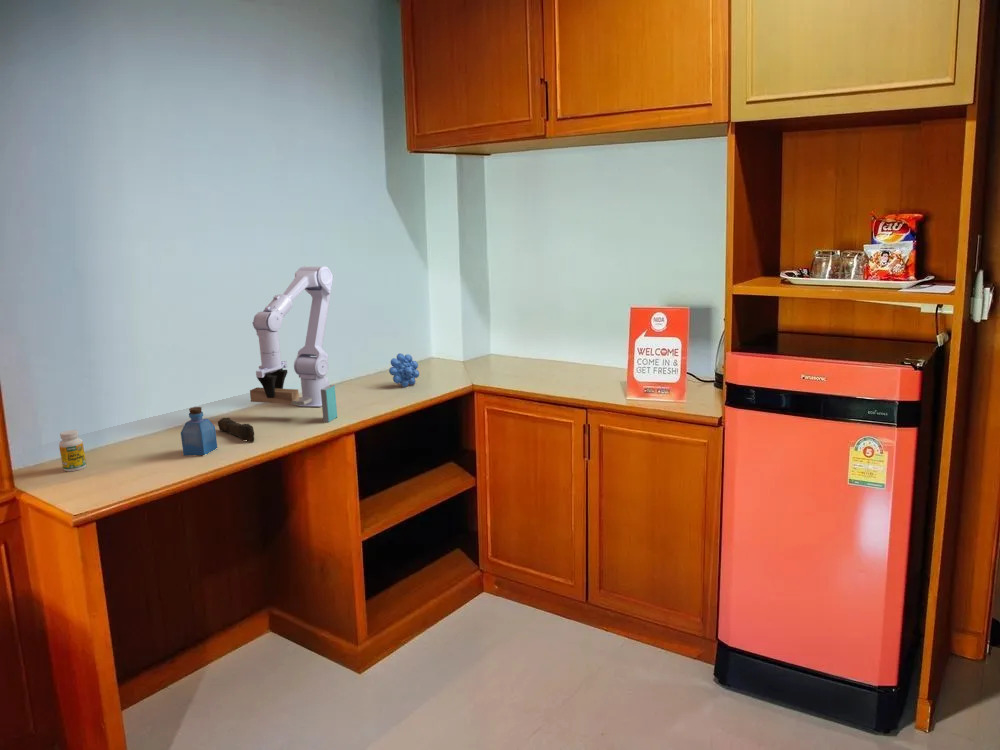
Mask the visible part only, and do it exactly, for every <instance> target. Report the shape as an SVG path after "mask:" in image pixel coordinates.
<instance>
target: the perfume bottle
mask: <svg viewBox="0 0 1000 750" xmlns="http://www.w3.org/2000/svg"><path fill="white" fill-rule="evenodd" d="M202 408H203V407H202V406H193V407H190V408H189V409H188V410H189V413H188V417H189V418H190V420H188V421H186V422H185V423H184V425H183V427H182V429H181V432H180V439H181V446H182V453H183V456H189V455H205V454H207V455H209V454H210V453H209V452H211V451H213V450H215V449H216V448H218V441H217V433H216V426H215V425H214V424H213V423H212V422H211V420H209V418H203V416H204V413H203V411H202ZM216 450H217V449H216ZM216 450H215V451H216ZM213 452H214V451H213ZM208 453H209V454H208ZM211 453H212V452H211Z"/></svg>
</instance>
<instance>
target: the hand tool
mask: <svg viewBox="0 0 1000 750" xmlns="http://www.w3.org/2000/svg"><path fill="white" fill-rule="evenodd" d="M217 426H218V429H219V431H221V430H222V432H227V433H230V434H231V435H235V436H237V437H239V438H240V440H241V439H242V440H241V441H243V440H247V441H246V442H248V441H251V443H254V442H255V431H254V427H253V426H252V425H251V424H249V423H242V424H241V423H239V422H236V421H234V420H232V419H231V418H230V417H222V418H221V419H219V420H218V422H217Z"/></svg>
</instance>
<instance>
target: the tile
mask: <svg viewBox="0 0 1000 750" xmlns="http://www.w3.org/2000/svg"><path fill="white" fill-rule="evenodd" d="M321 399H322V406H321V409H322V419H323V423H324V422H325V423H326V424H327V423H328V422H329V423H330V422H332V421H333V419H334V420H335V419H337V418H338V409H337V408H338V407H337V398H336V386H335V384H329V386H327V387H325V388H323V389H321ZM336 417H337V418H336ZM329 423H328V424H329Z"/></svg>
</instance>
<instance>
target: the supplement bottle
mask: <svg viewBox="0 0 1000 750" xmlns="http://www.w3.org/2000/svg"><path fill="white" fill-rule="evenodd" d="M59 435H60V437H59V438H60V439H61V440H60V442H59V445H58V447H59V453H60V458H61V459H60V460H61V463H62V470H63V471H65V472H77V471H80V470H84V469H85V468H86V467H87V460H86V454H85V448H84V443H83V439H81V438H80V437H79V431H78V430H76V429H74V430H73V429H70V430H65V431H62V432H60V433H59Z"/></svg>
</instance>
